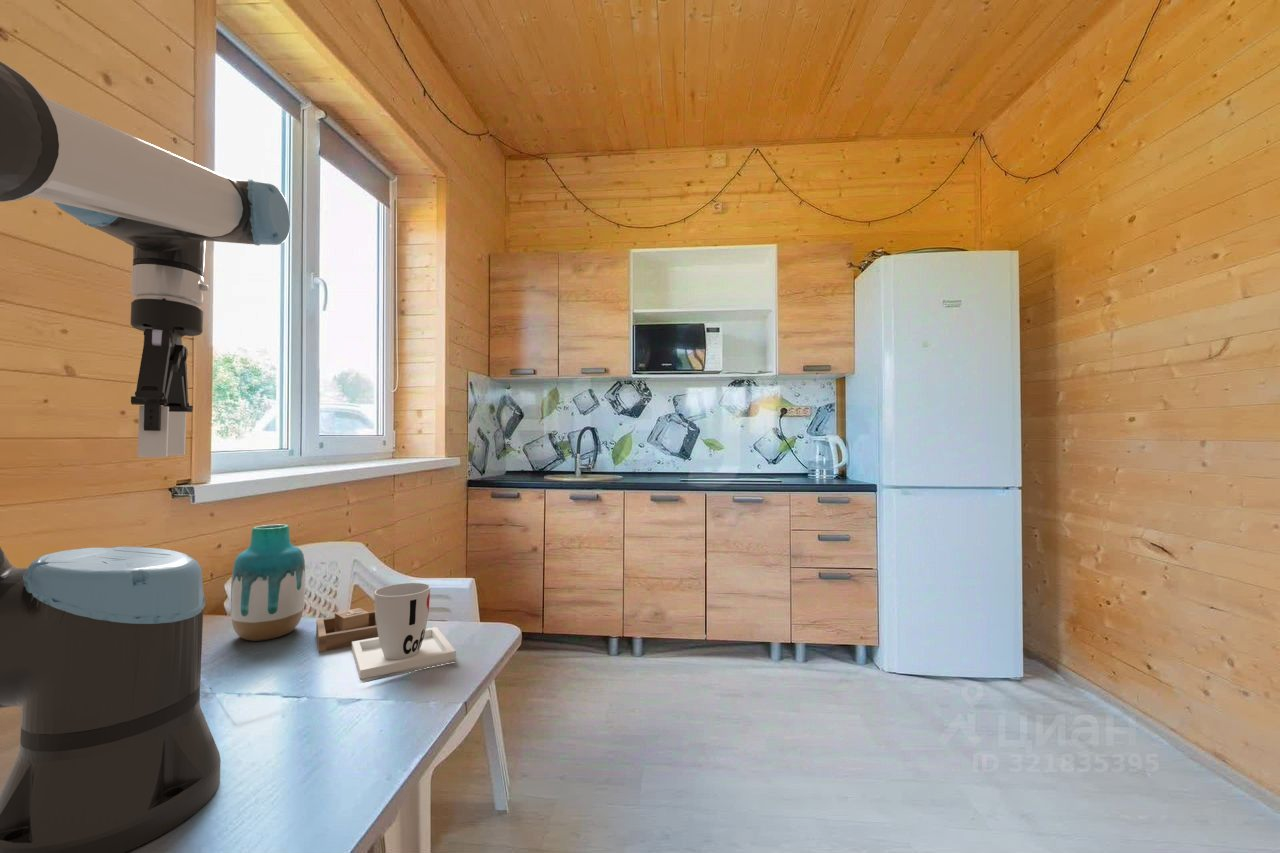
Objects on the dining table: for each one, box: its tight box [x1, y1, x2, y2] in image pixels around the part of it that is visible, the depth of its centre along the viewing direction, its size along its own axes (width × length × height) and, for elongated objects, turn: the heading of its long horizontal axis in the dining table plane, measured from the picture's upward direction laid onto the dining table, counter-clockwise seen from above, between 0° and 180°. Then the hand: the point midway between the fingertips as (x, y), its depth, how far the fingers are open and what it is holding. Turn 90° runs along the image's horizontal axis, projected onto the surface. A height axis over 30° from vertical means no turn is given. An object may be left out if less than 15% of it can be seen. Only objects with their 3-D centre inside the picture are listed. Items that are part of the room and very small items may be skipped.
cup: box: [373, 582, 431, 660], centre depth 84 cm, size 8×8×10 cm
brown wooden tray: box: [315, 610, 378, 653], centre depth 91 cm, size 10×10×3 cm
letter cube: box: [334, 607, 369, 632], centre depth 91 cm, size 4×4×4 cm
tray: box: [351, 626, 457, 684], centre depth 84 cm, size 13×13×2 cm
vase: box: [230, 523, 306, 642], centre depth 93 cm, size 11×11×19 cm
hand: (163, 456), depth 74 cm, fingers open, 13 cm apart
